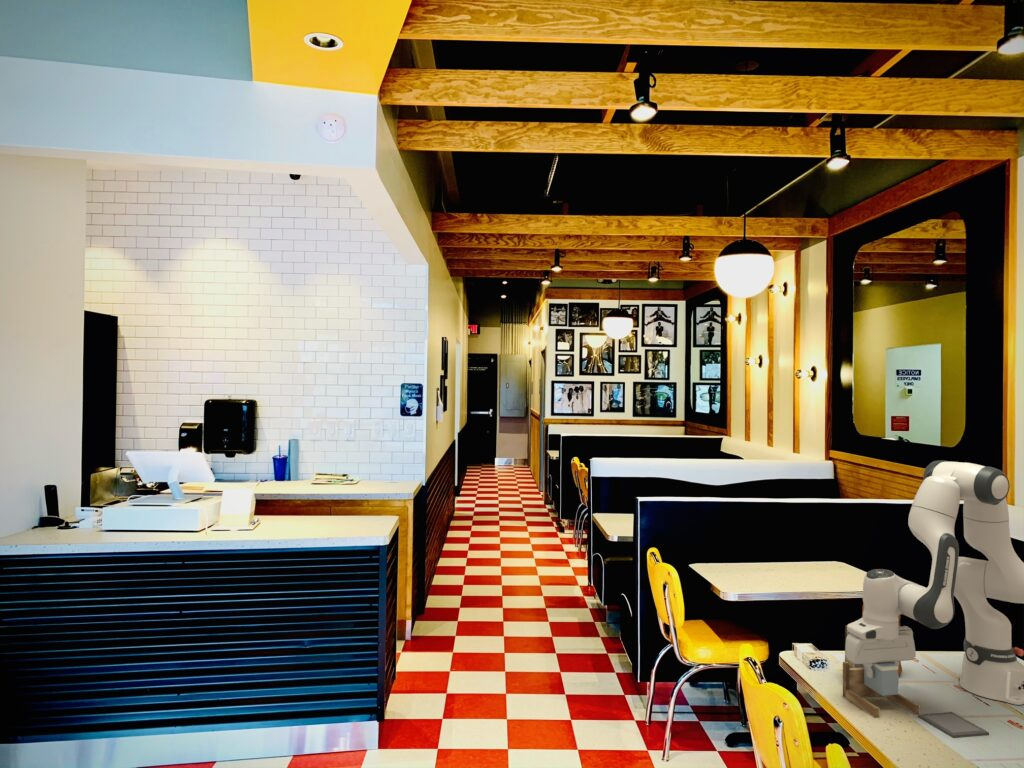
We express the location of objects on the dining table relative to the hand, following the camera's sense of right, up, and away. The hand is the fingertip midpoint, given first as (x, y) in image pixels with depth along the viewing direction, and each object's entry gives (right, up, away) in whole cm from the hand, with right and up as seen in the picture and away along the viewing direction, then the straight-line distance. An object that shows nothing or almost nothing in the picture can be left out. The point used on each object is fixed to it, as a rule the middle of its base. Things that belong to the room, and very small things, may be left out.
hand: (880, 676), depth 177 cm
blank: (0, -4, 0) cm, 4 cm away
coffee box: (+2, -9, +14) cm, 16 cm away
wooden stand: (-1, -8, -1) cm, 8 cm away
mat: (+13, -8, -11) cm, 19 cm away
